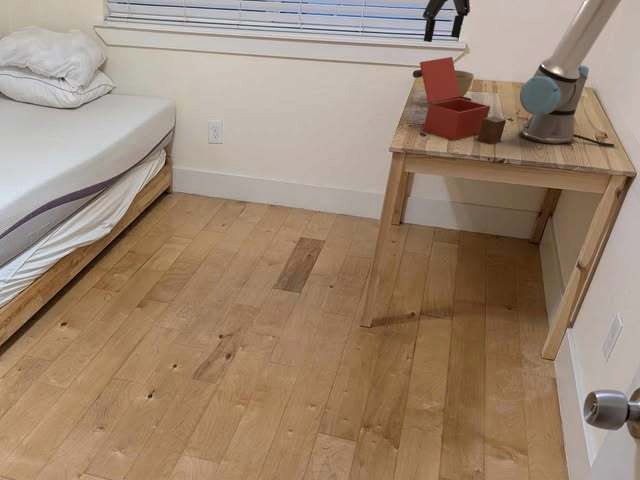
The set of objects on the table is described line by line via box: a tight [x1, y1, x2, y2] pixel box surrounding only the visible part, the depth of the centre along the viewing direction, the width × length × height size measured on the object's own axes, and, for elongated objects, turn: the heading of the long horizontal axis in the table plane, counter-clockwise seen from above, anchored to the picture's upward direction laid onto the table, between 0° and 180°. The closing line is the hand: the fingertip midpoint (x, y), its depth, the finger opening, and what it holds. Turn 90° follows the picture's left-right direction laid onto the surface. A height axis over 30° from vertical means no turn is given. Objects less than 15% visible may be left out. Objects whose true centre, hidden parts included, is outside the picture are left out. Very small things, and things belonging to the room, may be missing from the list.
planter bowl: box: [432, 69, 475, 104], centre depth 260 cm, size 16×16×11 cm
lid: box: [412, 56, 460, 104], centre depth 234 cm, size 14×16×8 cm
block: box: [477, 115, 507, 145], centre depth 222 cm, size 5×5×7 cm
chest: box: [422, 98, 491, 141], centre depth 230 cm, size 13×16×9 cm
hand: (441, 39), depth 226 cm, fingers open, 13 cm apart
